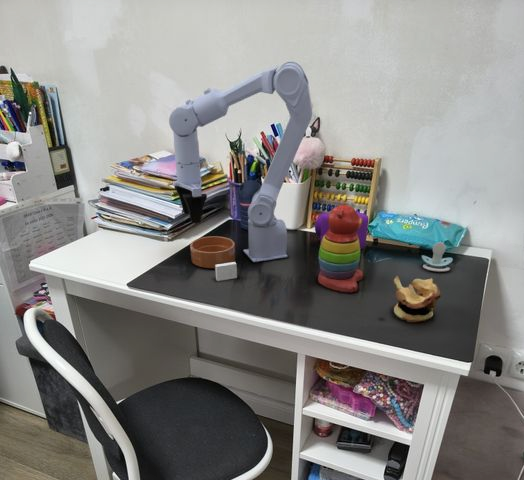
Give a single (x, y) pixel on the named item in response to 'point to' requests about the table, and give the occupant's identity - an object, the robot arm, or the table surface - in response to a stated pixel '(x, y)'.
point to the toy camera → (323, 227)
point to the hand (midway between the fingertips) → (192, 217)
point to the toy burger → (416, 298)
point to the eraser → (226, 271)
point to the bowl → (212, 251)
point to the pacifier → (437, 259)
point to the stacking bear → (341, 251)
